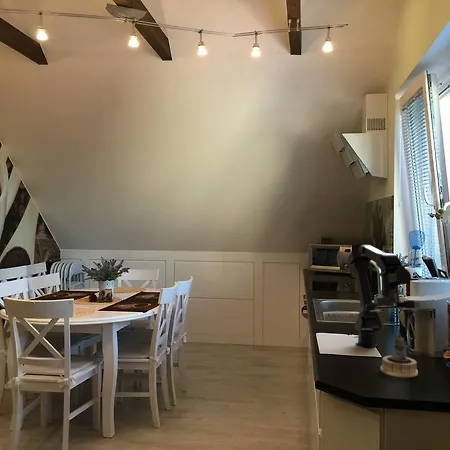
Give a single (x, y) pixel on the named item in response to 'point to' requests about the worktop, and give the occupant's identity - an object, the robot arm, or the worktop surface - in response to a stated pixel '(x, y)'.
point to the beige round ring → (399, 368)
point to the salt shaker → (399, 351)
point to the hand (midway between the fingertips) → (394, 329)
